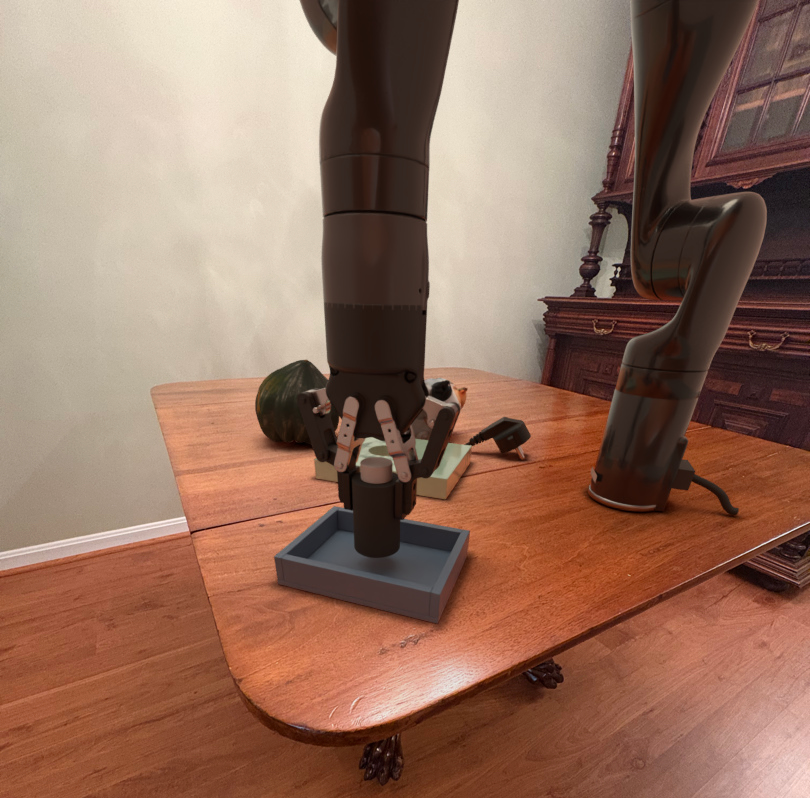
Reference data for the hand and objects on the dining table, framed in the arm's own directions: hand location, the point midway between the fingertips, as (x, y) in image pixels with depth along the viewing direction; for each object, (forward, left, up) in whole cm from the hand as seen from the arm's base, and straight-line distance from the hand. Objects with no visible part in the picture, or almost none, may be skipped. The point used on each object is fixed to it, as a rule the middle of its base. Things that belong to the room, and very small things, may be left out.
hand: (377, 510), depth 39 cm
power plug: (-5, -41, -7) cm, 42 cm away
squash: (+30, -35, -7) cm, 47 cm away
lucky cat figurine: (+10, -46, -7) cm, 48 cm away
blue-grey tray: (0, 0, -6) cm, 6 cm away
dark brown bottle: (0, 0, -4) cm, 4 cm away
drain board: (+8, -27, -6) cm, 29 cm away
